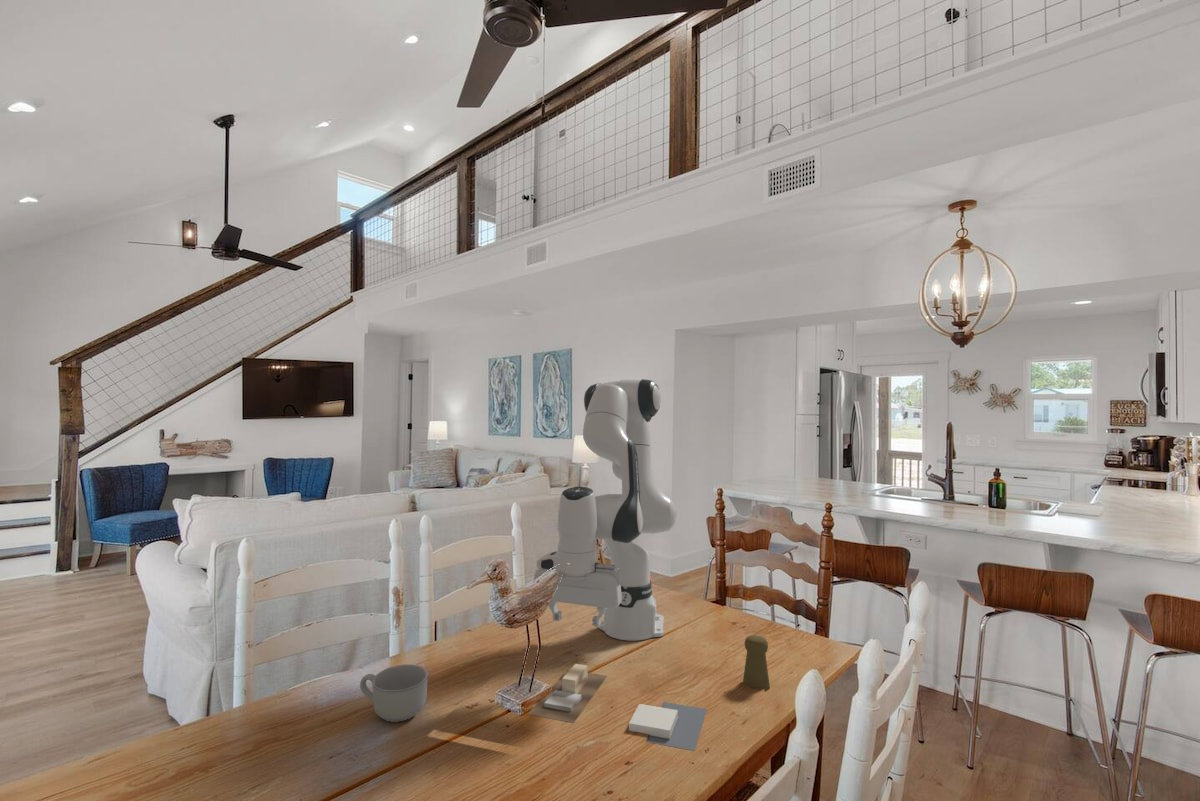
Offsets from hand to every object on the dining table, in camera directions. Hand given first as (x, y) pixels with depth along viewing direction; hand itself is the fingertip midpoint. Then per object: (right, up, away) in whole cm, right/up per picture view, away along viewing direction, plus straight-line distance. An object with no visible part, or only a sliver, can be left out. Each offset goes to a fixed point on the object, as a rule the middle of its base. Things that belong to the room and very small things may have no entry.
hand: (576, 622), depth 131 cm
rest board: (-1, -15, -4) cm, 16 cm away
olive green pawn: (+41, -16, +3) cm, 44 cm away
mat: (+17, -15, -14) cm, 26 cm away
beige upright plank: (-1, -14, -4) cm, 15 cm away
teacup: (-37, -15, -11) cm, 42 cm away
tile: (+17, -14, -12) cm, 25 cm away
